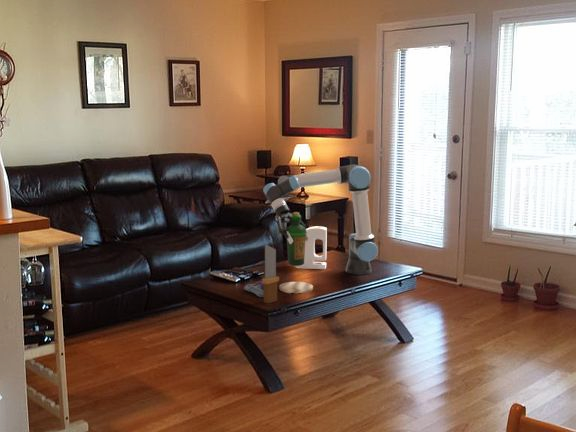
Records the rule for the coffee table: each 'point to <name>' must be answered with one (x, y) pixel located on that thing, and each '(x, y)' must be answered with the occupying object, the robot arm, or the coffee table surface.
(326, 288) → the coffee table surface
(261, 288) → the toy gun
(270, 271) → the knife
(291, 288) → the serving board
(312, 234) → the bracket
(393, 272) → the coffee table surface
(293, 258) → the bottle
